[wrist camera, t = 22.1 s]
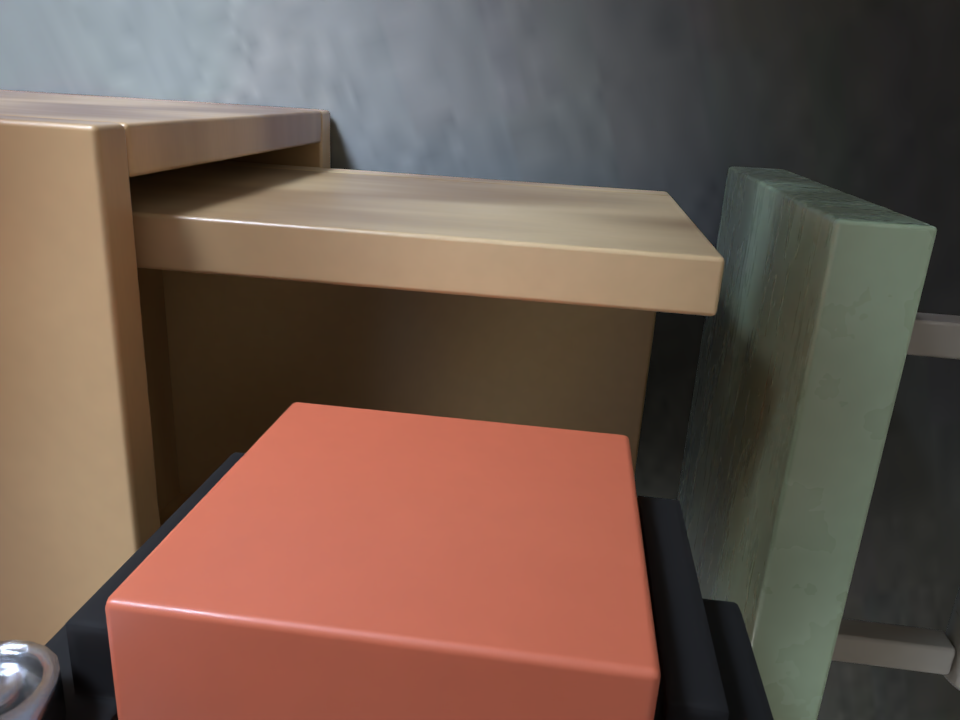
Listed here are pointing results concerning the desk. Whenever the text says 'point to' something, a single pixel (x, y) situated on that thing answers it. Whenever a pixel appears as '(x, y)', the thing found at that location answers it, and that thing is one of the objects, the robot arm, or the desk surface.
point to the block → (397, 580)
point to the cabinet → (91, 327)
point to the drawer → (566, 352)
